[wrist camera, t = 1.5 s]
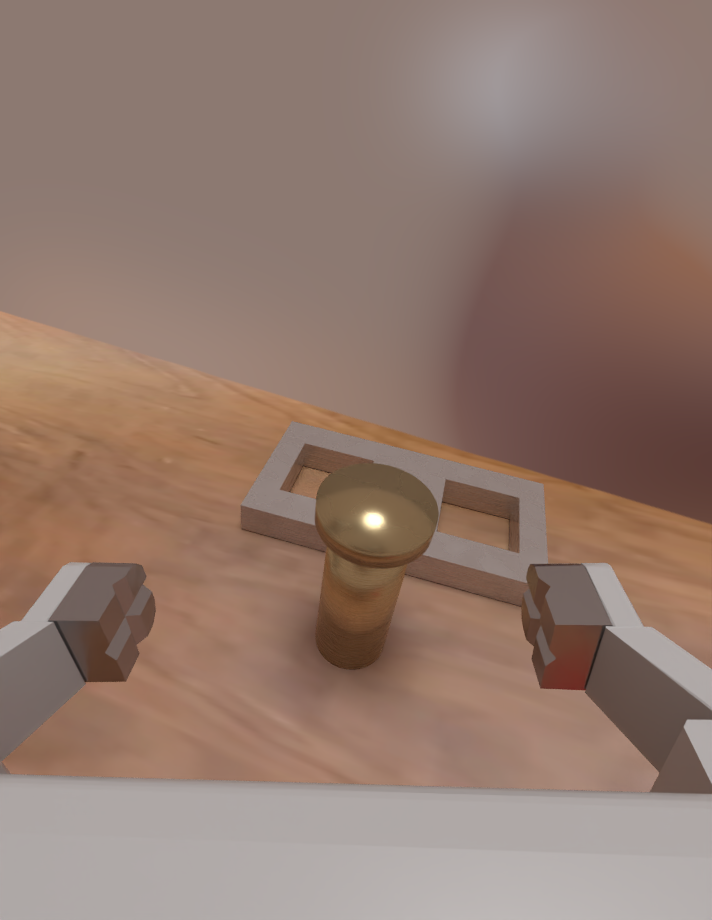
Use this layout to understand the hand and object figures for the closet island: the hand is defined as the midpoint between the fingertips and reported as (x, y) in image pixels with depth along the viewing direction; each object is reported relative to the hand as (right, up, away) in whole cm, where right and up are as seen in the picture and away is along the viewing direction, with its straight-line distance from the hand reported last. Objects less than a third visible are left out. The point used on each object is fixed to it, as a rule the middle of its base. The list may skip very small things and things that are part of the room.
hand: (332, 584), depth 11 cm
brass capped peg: (0, -9, +22) cm, 23 cm away
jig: (+4, -2, +30) cm, 31 cm away
